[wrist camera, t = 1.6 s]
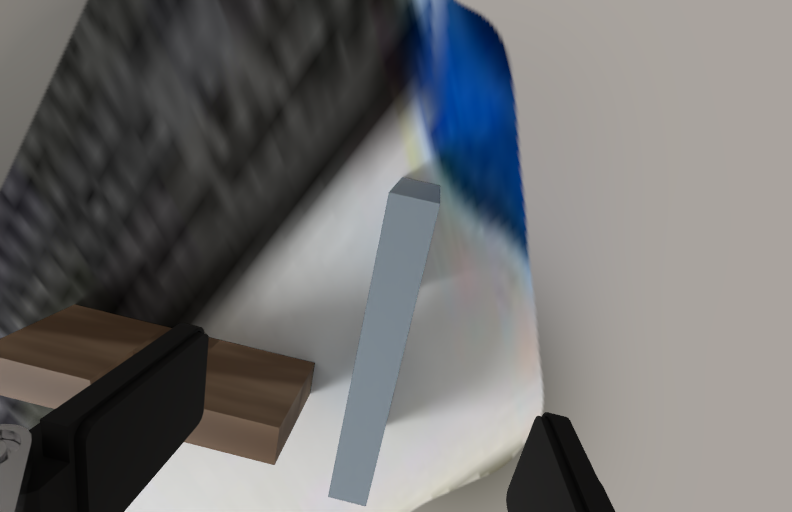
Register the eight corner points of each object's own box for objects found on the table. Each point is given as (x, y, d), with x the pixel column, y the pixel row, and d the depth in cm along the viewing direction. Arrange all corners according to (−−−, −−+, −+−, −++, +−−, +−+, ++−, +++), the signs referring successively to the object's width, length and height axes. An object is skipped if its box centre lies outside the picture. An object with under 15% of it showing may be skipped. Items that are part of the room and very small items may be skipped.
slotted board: (74, 304, 31) (-26, 351, 24) (314, 362, 30) (279, 427, 23) (76, 336, 32) (-20, 390, 25) (309, 394, 31) (274, 465, 24)
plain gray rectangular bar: (402, 177, 25) (389, 192, 18) (439, 185, 25) (440, 203, 18) (351, 419, 31) (328, 496, 25) (381, 427, 31) (365, 506, 24)
